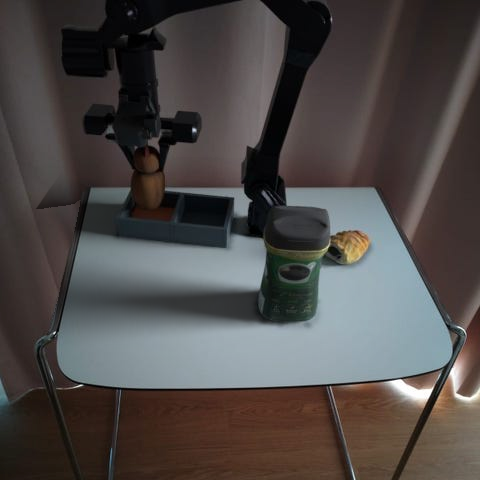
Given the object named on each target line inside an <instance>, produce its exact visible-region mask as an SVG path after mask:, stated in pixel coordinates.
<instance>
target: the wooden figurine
mask: <svg viewBox="0 0 480 480" xmlns="http://www.w3.org/2000/svg"><path fill="white" fill-rule="evenodd" d="M133 161H134V166H135V168H136V169H135V170H132V175H131V179H130V190H131V194H132V197H133V199H134V201H135V202H136V204H137V205H138V206H139V207H141V208H143V209H145V210H152V209H155V208H157V207H158V206H160V204H161V203H162V200H163V197H164V193H165V191H166V175H165V172H164V171H163V172H160V167H159V149H157V148H156V147H155V146H152V145H149V142H148V143H147V145H146V146H144V147H136V148H135V152H134V156H133Z"/></svg>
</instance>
